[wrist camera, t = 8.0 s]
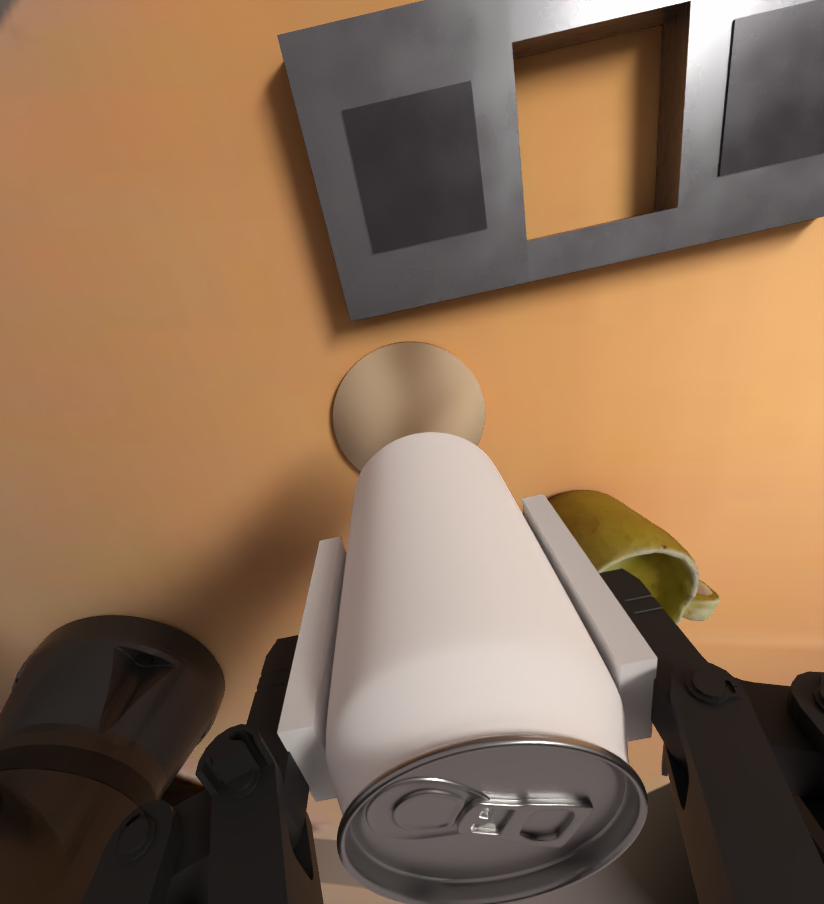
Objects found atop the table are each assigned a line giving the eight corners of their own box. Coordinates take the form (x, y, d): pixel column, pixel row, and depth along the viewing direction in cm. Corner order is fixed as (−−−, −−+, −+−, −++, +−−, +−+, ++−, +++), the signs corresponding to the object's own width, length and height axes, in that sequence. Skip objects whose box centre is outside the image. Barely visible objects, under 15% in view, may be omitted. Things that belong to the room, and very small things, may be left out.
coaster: (355, 497, 30) (355, 500, 29) (313, 360, 25) (312, 362, 25) (492, 467, 29) (493, 470, 29) (473, 325, 25) (474, 326, 25)
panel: (352, 317, 24) (350, 321, 23) (286, 56, 19) (276, 34, 18) (823, 212, 24) (862, 208, 22) (881, -85, 19) (938, -124, 17)
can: (373, 410, 16) (356, 701, 6) (521, 447, 18) (747, 747, 7) (340, 540, 19) (284, 914, 8) (471, 565, 20) (578, 923, 9)
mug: (475, 586, 31) (569, 678, 22) (528, 462, 31) (647, 505, 22) (582, 612, 37) (694, 694, 28) (629, 506, 36) (759, 555, 27)
